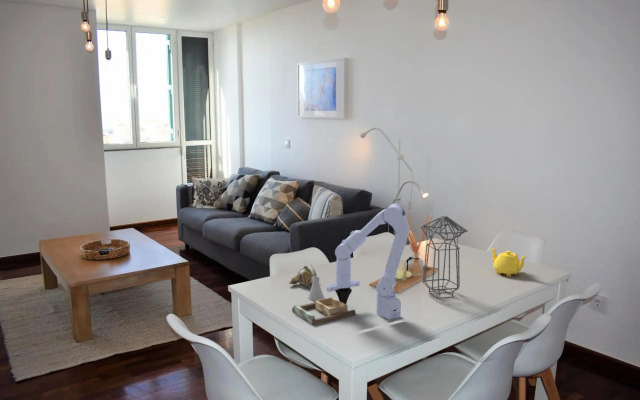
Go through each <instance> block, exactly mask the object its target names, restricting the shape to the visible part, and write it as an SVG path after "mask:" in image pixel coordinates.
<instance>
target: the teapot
mask: <svg viewBox="0 0 640 400" xmlns="http://www.w3.org/2000/svg"><path fill="white" fill-rule="evenodd" d="M490 249H491V250H492V258H491V260H492V263H493V269H494V270H495V271H496V274H497V275H501V274H506V277H507V278H511V277H512V275H515V276H517V275H518V273H521V270H522V269H523V268H524V265H525V259H526V258H527V257H528V255H523V256H521V259H520V258H519V255H518V253H516V252H512V251H511V250H505V252H500V253H499V254H498V256H497V251H496V249H495V248H493V247H490Z"/></svg>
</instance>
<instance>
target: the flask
mask: <svg viewBox="0 0 640 400" xmlns="http://www.w3.org/2000/svg"><path fill="white" fill-rule="evenodd" d="M312 279H313V283H312V285H311V286H310V290H309V294H308V295H307V299H308V300H309V301H312V302H313V301H314V302H315V301H316V300H320V299H325V296H324V294H323V291H322V288H321V285H320V284H321V283H320V279H321V277H320V276H315V277H312Z"/></svg>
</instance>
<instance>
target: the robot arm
mask: <svg viewBox="0 0 640 400" xmlns="http://www.w3.org/2000/svg"><path fill="white" fill-rule="evenodd" d="M387 224H389V225H390V226H391V227H392V229H393V230H394V231H395V235H394V238H393V242H392V245H391V248H390V252H389V255H388V258H387V260H386V264H385V268H384V270H383V273H382V276H381V277H380V280H379V281H378V283H376V287H375V288H376V308H375V309H376V311H375V313H376V315H377V316H379V317H382V318H384V319H387V320H388V321H389V320H392V319H397V318H403V315H401V314H402V313H401V312H402V311H401V310H402V309H401V308H402V302H401V300H400V299H399V298H398V297H397V295H396V291H395V287H396V285H397V279H396V278H397V272H398V269H399V266H400V262H401V259H402V256H403V253H404V250H405V246H406V244H407V241H408V237H409V233H410V231H411V227H410V224H409V221H408V217H407V212H406V210H405V209H404V207H403V206H402V205H401V204H399V203H396V202H395V203H391V204H390V205H388V207H386V208H384V209H382V210H381V211H380V212H378V213H377V214H376V215H375V216H374V217H373V218H372V219H371V220H370V221H369V222H367V224H366V225H364V226H363V228H361V229H360V230H359V229H358V230H357V229H356V230H352V231H351V232H350V233H349V234H350V235H349V236H348V237H346V239H342V241H341V243H340V244H339V245H337V247H336V248H335V251H334V255H335V257H336V265H335V266H336V268H335V269H336V271H335V272H336V273H335V274H336V275H335V277H336V278H335V282H334V283H332V284H329V285H326V292H328V293H332V292H334V291H335V293H336V296H337V298H338V301H340V302H342V303H344V304H346V305H347V303H348V299H349V297H350V296H351V293H352V291H353V290H352V288H353V287H360V281H359V280H351V275H352V274H351V272H352V271H351V270H352V262H351V259H352V256H351V255H352V254H353V252H355V251H356V250H357V249H358V248H360V247H361V246H363V244H364V243H365V242H366V240H367V236H368V235H369V234H370V233H372V232H373V231H374V230H376V228H378V226H380V225H387Z"/></svg>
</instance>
